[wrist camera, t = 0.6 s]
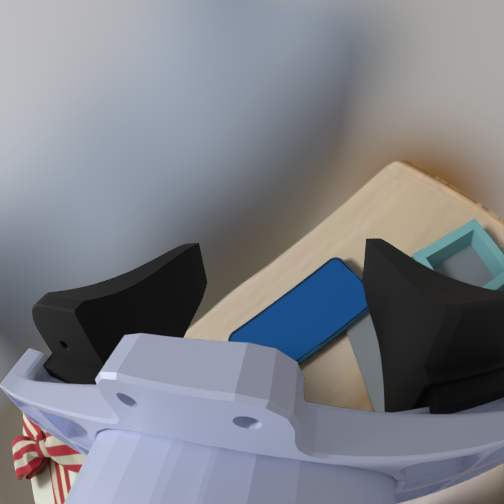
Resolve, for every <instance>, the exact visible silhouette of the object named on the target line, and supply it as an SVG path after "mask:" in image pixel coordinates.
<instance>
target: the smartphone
mask: <svg viewBox="0 0 504 504" xmlns="http://www.w3.org/2000/svg"><path fill="white" fill-rule="evenodd" d="M368 311H369V309H368V306H367V302H366V299H365V293H364V287H363V281H362V279H361V278H360V277H359V276H358V275H357V274H356V273H355V272H354V271H353V270H352V269H351V268H350V267H349V266H348V265H347V264H346V263H345V262H344V261H343V260H342V259H340V258H337V257H335V258H331V259H330V260H328V261H327V262H326V263H325V264H323V265H322V266H321V267H319V268H318V269H317V270H316V271H314V272H313V273H312V274H311V275H309V276H308V277H307V278H305V279H304V280H303V281H301V282H300V283H299V284H298V285H296V286H295V287H294V288H292V289H291V290H290V291H288V292H287V293H286V294H284V295H283V296H282V297H280V298H279V299H278V300H276V301H275V302H274V303H272V304H271V305H270V306H268V307H267V308H266V309H264V310H263V311H261V312H260V313H259V314H257V315H256V316H255V317H253V318H252V319H250V320H249V321H248V322H246V323H245V324H243V325H242V326H241V327H239V328H238V329H236V330H235V331H233V332H232V333H231V334H230V336H229V339H228V342H246V343H253V344H258V345H262V346H267V347H272V348H276V349H278V350H279V351H281V352H282V353H284V354H285V355H287V356H288V357H290V358H292V359H293V360H295V361H296V362H298V364H300V363H301V362H303V361H304V360H305V359H307V358H308V357H310V356H311V355H312V354H314V353H315V352H317V351H318V350H319V349H321V348H322V347H323V346H325V345H326V344H327V343H329V342H330V341H331V340H333V339H334V338H335V337H337V336H338V335H339V334H341V333H342V332H343V331H344V330H346V329H347V328H348V327H349V326H351V325H352V324H353V323H354V322H356V321H357V320H358V319H359V318H361V317H362V316H363V315H364V314H365V313H367V312H368Z"/></svg>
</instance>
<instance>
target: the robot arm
mask: <svg viewBox="0 0 504 504" xmlns="http://www.w3.org/2000/svg"><path fill="white" fill-rule="evenodd" d="M362 281H363V287H364V293H365V299H366V302H367V306H368V309H369V312H370V316H371V319H372V322H373V326H374V329H375V332H376V336H377V340H378V344H379V349H380V356H381V364H382V374H383V385H384V412H378V411H368V410H359V409H351V408H343V407H336V406H330V405H323V404H317V403H312V402H306V401H305V398H304V376H303V374H302V372H301V369H300V367H299V364H298V362H296V361H295V360H293V359H292V358H290V357H288V356H287V355H285V354H284V353H282V352H281V351H279V350H278V349H276V348H272V347H267V346H262V345H258V344H253V343H246V342H227V341H212V340H200V339H188V338H183V337H184V335H185V333H186V331H187V329H188V327H189V325H190V323H191V321H192V319H193V317H194V315H195V313H196V311H197V309H198V307H199V305H200V303H201V300H202V298H203V295H204V292H205V288H206V285H207V279H206V275H205V270H204V265H203V261H202V256H201V251H200V246H199V243H191V244H184V245H181V246H179V247H177V248H175V249H173V250H171V251H169V252H167V253H165V254H163V255H161V256H159V257H158V258H156V259H154V260H152V261H150V262H148V263H146V264H144V265H142V266H140V267H138V268H136V269H134V270H132V271H130V272H127V273H125V274H122V275H120V276H117V277H115V278H112V279H109V280H106V281H103V282H100V283H97V284H93V285H89V286H85V287H81V288H76V289H71V290H65V291H58V292H49V293H47V294H45V295H44V296H43V297H42V298H41V299H40V300H39V301H38V302H37V303H36V304H35V305H34V306H33V309H32V314H33V320H34V322H35V325H36V327H37V329H38V331H39V332H40V334H41V335H42V337H43V339H44V341H45V342H46V344H47V345H48V347H49V348H50V350H51V351H52V354H51V356H50V357H49V358H48V357H47V356H46V355H45V354H43V353H41V352H39V351H36V350H34V349H32V348H29V349H28V350H27V351H26V353H25V354H24V355H23V356H22V357H21V359H20V360H19V361H18V362H17V364H16V365H15V366H14V367H13V368H12V370H11V371H10V372H9V374H8V375H7V376H6V377H5V379H4V380H3V381H2V383H1V384H0V387H1V388H2V390H3V391H4V392H5V393H6V394H7V395H8V397H9V398H10V399H11V400H12V401H13V402H14V403H15V404H16V405H17V406H18V408H20V409H21V411H22V412H23V413H24V414H25V415H26V416H27V417H28V418H29V419H30V420H31V421H32V422H33V423H34V424H36V425H37V426H39V427H40V428H42V429H43V430H45V431H46V432H48V433H49V434H51V435H52V436H54V437H55V438H57V439H58V440H60V441H61V442H63V443H65V444H66V445H68V446H69V447H71V448H73V449H74V450H76V451H78V452H79V453H81V454H83V455H84V456H86V459H85V461H84V463H83V465H82V467H81V469H80V471H79V473H78V475H77V477H76V479H75V481H74V483H73V485H72V487H71V489H70V491H69V493H68V495H67V498H66V500H65V502H64V504H397V503H401V502H405V501H409V500H412V499H416V498H419V497H423V496H426V495H429V494H432V493H435V492H438V491H441V490H443V489H446V488H449V487H451V486H454V485H457V484H459V483H461V482H464V481H466V480H469V479H471V478H473V477H475V476H478V475H480V474H482V473H484V472H486V471H488V470H490V469H492V468H494V467H496V466H498V465H500V464H502V463H504V291H498V290H492V289H487V288H482V287H479V286H475V285H471V284H468V283H464V282H461V281H459V280H456V279H453V278H450V277H448V276H446V275H443V274H441V273H439V272H437V271H435V270H432V269H430V268H428V267H427V266H425V265H423V264H421V263H419V262H418V261H416V260H414V259H413V258H411V257H409V256H408V255H406V254H405V253H403V252H402V251H400V250H399V249H397V248H395V247H394V246H392V245H391V244H389V243H388V242H386V241H384V240H382V239H366V248H365V260H364V270H363V280H362Z"/></svg>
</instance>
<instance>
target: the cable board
mask: <svg viewBox="0 0 504 504" xmlns="http://www.w3.org/2000/svg"><path fill="white" fill-rule="evenodd" d="M411 258H413V259H414V260H416V261H418V262H419V263H421V264H423V265H425V266H427V267H428V268H430V269H432V270H435V271H437V272H439V273H441V274H443V275H446V276H448V277H450V278H453V279H456V280H459V281H461V282H464V283H468V284H471V285H475V286H479V287H482V288H487V289H492V290H498V291H504V254H503V253H502V252H501V250H500V249H499V248H498V246H497V245H496V244H495V242H494V241H493V240H492V239H491V237H490V236H489V235H488V234H487V233H486V231H485V230H484V229H483V228H482V226H481V225H480V224H479V223H478V222H477V221H476V220H475V219H473V220H471V221H470V222H468V223H467V224H465V225H463V226H462V227H460V228H458V229H457V230H455V231H453V232H452V233H450V234H448V235H447V236H445V237H443V238H441V239H440V240H438V241H436V242H434V243H433V244H431V245H429V246H427V247H426V248H424V249H422V250H420V251H418V252H416V253H415V254H413V255H412V257H411ZM346 332H347V335H348V338H349V340H350V343H351V346H352V348H353V351H354V354H355V356H356V359H357V362H358V365H359V367H360V370H361V373H362V376H363V379H364V382H365V385H366V387H367V390H368V393H369V396H370V399H371V402H372V405H373V408H374V411H378V412H384V385H383V374H382V364H381V356H380V349H379V344H378V340H377V336H376V332H375V329H374V326H373V322H372V319H371V316H370V312H369V311H368V312H367V313H365V314H364V315H363V316H362V317H361V318H359V319H358V320H357V321H356V322H354V323H353V324H352V325H351V326H349V327H348V328H347V329H346Z"/></svg>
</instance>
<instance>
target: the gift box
mask: <svg viewBox="0 0 504 504" xmlns="http://www.w3.org/2000/svg"><path fill="white" fill-rule="evenodd" d="M12 448H13V459H14V465H15V471H16V476H17V478H18V479H19V480H22V479H23V478H24V477H25V476H26V478H27V479H31V481H32V488H33V494H34V499H35V504H64V502H65V500H66V498H67V495H68V493H69V491H70V489H71V487H72V485H73V483H74V481H75V479H76V477H77V475H78V473H79V471H80V469H81V467H82V465H83V463H84V461H85V459H86V456H84V455H83V454H81V453H79V452H78V451H76V450H74V449H73V448H71V447H69V446H68V445H66V444H65V443H63V442H61V441H60V440H58V439H57V438H55V437H54V436H52V435H51V434H49V433H48V432H46V431H45V430H43V429H42V428H40V427H39V426H37V425H36V424H34V423H33V422H32V421H31V420H30V419H29V418H28V417H27V416H26V415H25V414H24V413H23V436H19V437H17V438H15V439H14V441H13V443H12Z"/></svg>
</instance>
